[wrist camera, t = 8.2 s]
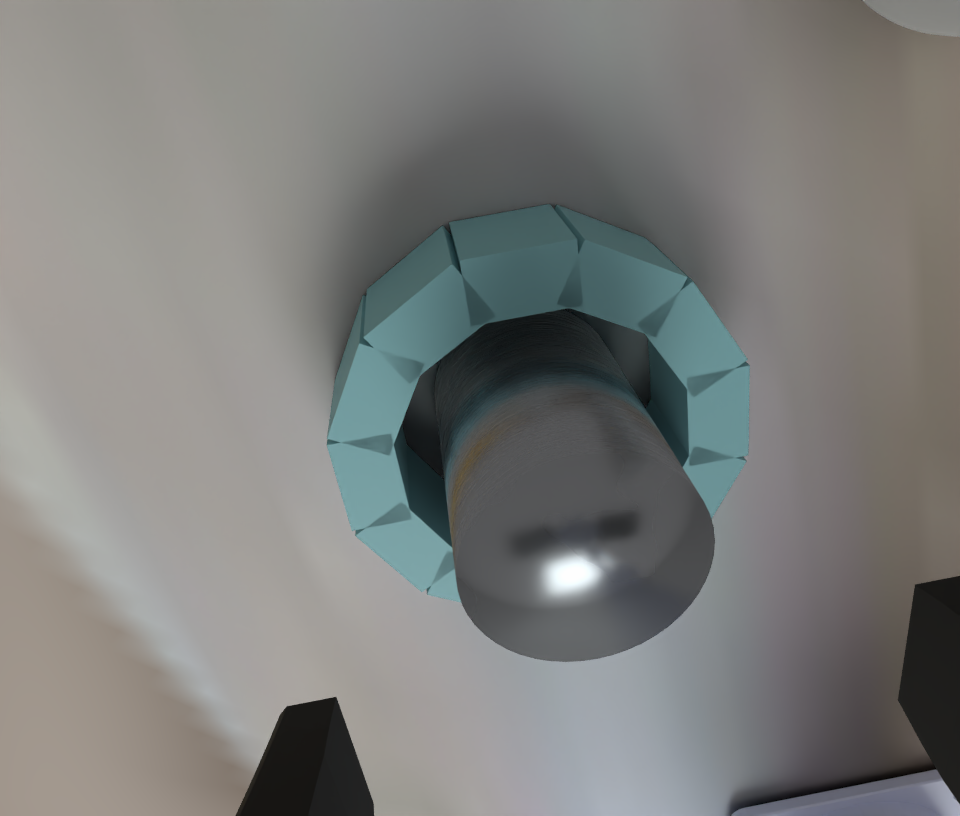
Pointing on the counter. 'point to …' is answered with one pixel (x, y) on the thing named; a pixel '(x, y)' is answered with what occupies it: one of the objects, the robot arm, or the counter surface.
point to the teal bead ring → (506, 295)
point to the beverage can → (921, 15)
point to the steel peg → (563, 494)
